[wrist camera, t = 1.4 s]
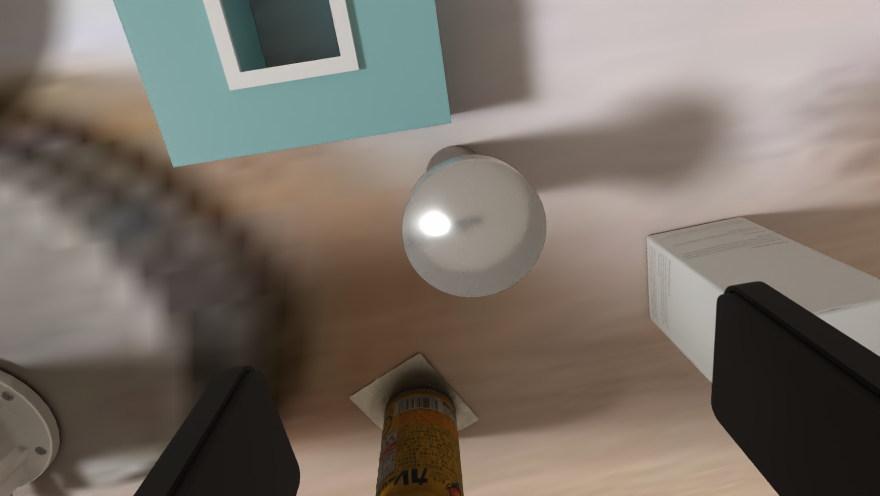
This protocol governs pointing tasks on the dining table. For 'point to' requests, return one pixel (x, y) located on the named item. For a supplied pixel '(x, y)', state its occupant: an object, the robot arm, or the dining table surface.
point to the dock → (283, 76)
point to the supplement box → (748, 260)
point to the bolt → (472, 224)
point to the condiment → (416, 430)
